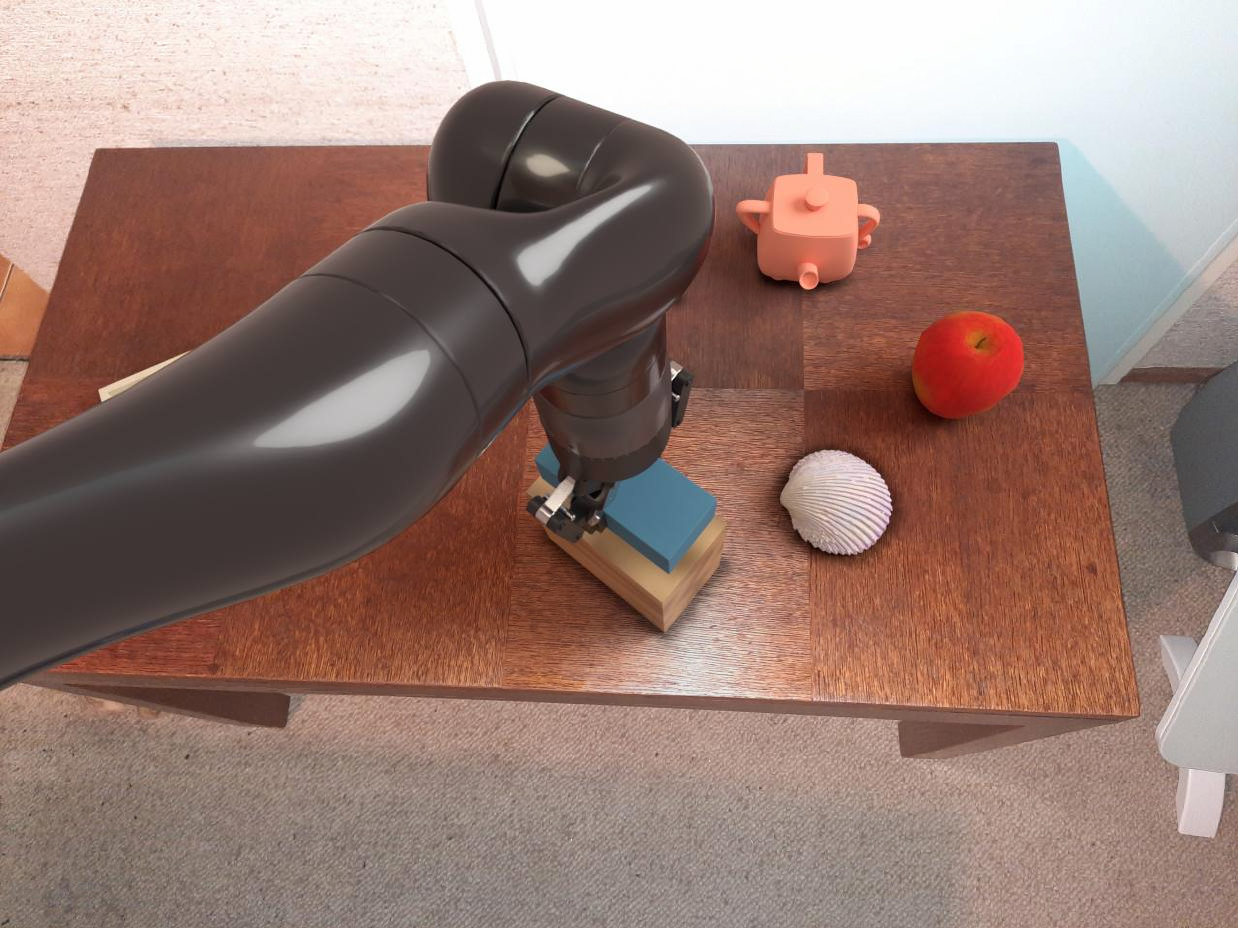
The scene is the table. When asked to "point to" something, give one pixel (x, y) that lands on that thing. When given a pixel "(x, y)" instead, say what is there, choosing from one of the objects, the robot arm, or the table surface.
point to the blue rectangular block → (651, 510)
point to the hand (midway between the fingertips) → (620, 490)
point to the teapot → (809, 226)
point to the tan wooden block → (644, 567)
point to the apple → (966, 364)
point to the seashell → (837, 502)
